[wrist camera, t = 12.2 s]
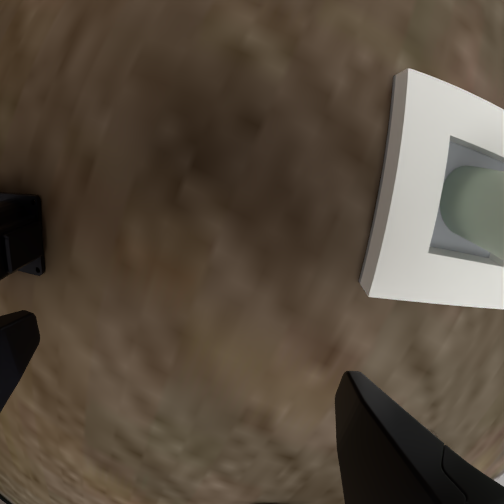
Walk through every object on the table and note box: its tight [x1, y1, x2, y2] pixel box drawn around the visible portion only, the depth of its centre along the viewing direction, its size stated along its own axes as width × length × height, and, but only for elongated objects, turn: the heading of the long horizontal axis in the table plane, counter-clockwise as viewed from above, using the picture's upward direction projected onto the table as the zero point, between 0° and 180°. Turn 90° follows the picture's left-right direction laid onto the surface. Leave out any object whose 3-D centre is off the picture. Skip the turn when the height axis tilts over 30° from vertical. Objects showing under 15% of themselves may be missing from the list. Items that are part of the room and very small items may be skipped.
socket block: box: [359, 68, 504, 309], centre depth 17 cm, size 14×14×2 cm
